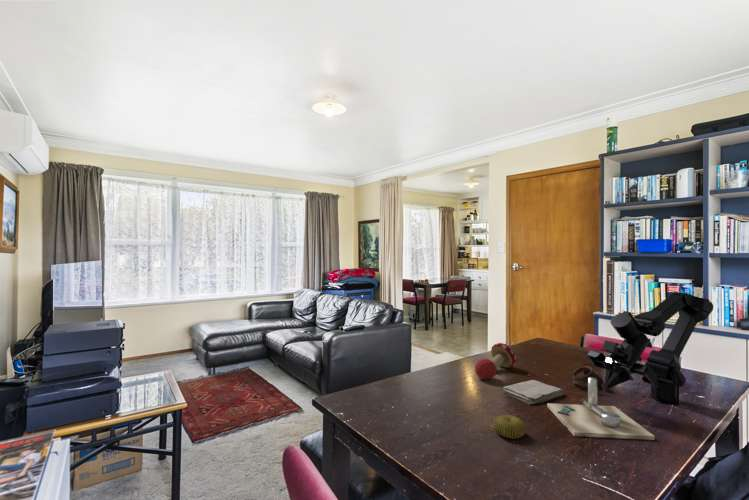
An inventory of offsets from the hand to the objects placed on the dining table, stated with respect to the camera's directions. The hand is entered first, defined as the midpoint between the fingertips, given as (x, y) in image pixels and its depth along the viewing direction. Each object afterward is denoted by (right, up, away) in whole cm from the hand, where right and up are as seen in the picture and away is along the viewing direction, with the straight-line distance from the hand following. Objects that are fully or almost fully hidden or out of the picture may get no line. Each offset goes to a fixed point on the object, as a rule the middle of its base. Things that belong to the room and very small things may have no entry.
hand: (605, 387), depth 109 cm
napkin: (-7, -7, -6) cm, 12 cm away
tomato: (-28, -8, +28) cm, 40 cm away
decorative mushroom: (-19, -8, +40) cm, 45 cm away
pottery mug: (+7, -8, +21) cm, 24 cm away
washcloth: (-16, -8, +14) cm, 23 cm away
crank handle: (-5, -6, -5) cm, 10 cm away
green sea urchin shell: (-34, -8, -13) cm, 37 cm away
